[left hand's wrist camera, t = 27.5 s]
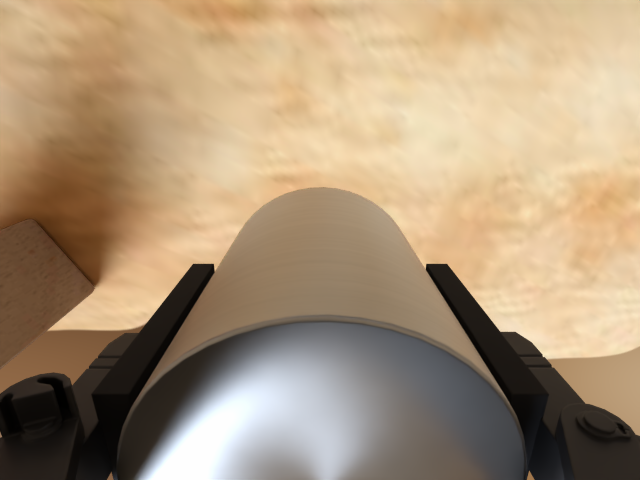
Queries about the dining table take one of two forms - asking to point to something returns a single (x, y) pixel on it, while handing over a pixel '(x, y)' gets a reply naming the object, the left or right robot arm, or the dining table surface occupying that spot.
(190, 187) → the dining table surface
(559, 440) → the left robot arm
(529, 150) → the dining table surface
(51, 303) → the wooden block
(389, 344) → the tin
